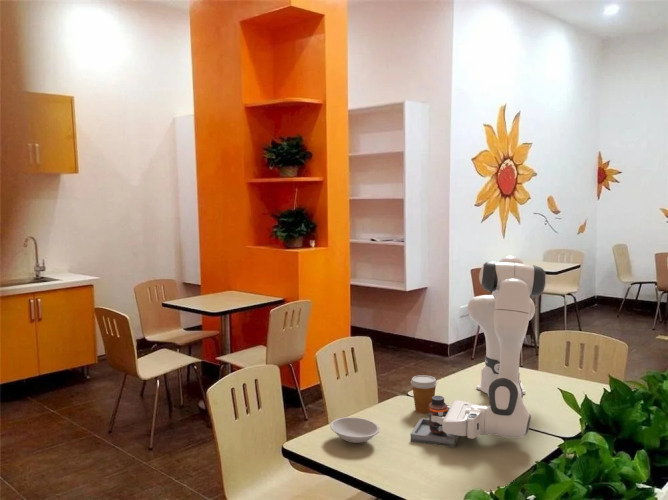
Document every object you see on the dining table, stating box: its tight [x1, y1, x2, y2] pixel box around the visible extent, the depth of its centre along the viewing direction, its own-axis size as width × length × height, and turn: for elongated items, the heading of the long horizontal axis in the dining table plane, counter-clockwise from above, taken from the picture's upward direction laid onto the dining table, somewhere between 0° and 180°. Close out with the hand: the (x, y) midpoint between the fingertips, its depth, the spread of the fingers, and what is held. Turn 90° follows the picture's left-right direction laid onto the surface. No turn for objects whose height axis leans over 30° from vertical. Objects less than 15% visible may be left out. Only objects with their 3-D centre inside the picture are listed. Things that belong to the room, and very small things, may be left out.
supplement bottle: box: [428, 395, 448, 434], centre depth 187 cm, size 6×6×11 cm
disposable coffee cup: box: [410, 374, 438, 415], centre depth 209 cm, size 10×10×12 cm
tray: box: [410, 417, 460, 448], centre depth 187 cm, size 14×14×2 cm
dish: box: [329, 416, 381, 444], centre depth 184 cm, size 18×14×5 cm
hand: (434, 413), depth 187 cm, fingers open, 6 cm apart
